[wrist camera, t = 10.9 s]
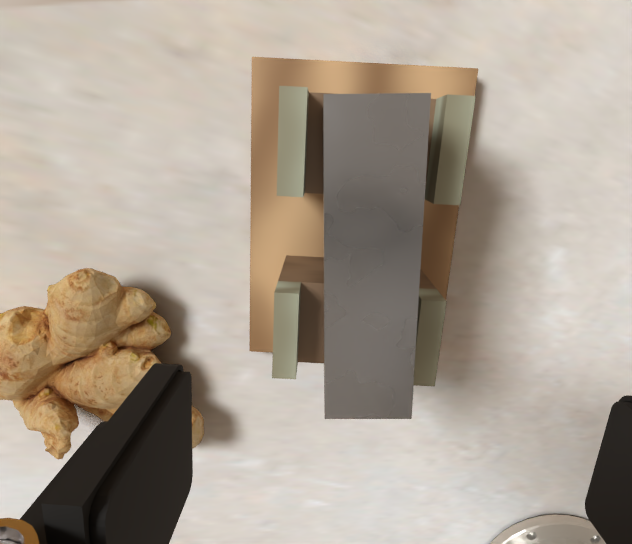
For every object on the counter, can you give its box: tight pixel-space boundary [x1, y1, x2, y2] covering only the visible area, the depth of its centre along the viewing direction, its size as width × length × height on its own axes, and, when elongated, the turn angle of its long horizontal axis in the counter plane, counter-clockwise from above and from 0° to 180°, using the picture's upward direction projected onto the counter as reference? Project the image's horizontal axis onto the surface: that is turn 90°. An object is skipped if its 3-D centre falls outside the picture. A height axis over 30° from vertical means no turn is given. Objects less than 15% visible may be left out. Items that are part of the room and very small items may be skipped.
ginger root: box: [0, 268, 204, 459], centre depth 31 cm, size 16×16×8 cm
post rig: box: [250, 57, 478, 386], centre depth 27 cm, size 14×20×10 cm
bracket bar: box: [323, 93, 431, 419], centre depth 21 cm, size 4×14×6 cm, turn 1°
